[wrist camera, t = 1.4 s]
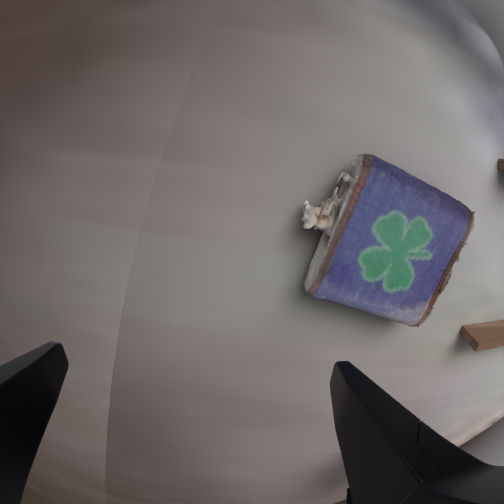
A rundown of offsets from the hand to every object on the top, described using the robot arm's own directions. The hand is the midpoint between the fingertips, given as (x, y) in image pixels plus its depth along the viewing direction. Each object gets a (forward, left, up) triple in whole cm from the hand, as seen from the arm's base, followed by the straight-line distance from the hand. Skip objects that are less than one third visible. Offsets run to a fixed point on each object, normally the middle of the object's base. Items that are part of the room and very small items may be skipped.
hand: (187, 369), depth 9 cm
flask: (0, -14, -13) cm, 19 cm away
